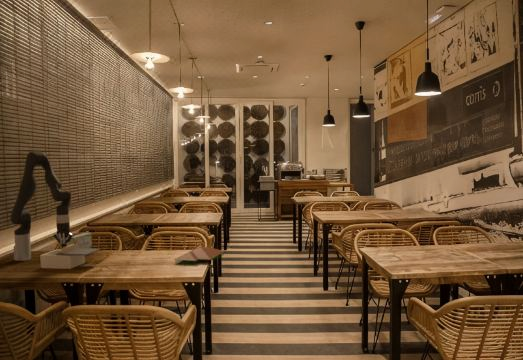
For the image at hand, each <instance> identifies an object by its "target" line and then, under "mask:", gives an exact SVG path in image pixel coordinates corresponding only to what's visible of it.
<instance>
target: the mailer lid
mask: <svg viewBox="0 0 523 360" xmlns="http://www.w3.org/2000/svg"><path fill="white" fill-rule="evenodd" d="M60 250H61V252H60V253H57V254H56V255H84V256H85V257H86V256H90V255H92V254H94V253H97V252H99V251H101V248H92V249H84V248H75V244H72V245H69V246H66V247H63V248H61V249H60ZM89 254H90V255H89Z"/></svg>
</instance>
